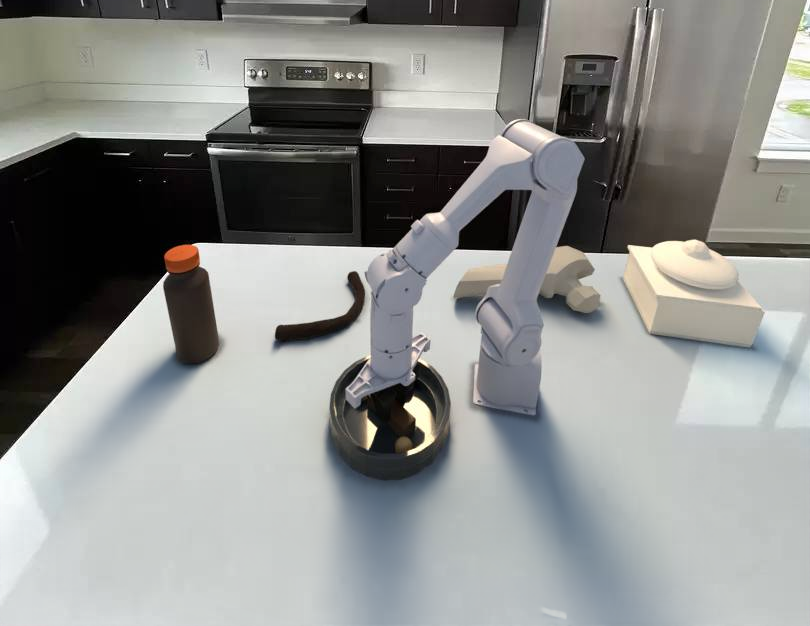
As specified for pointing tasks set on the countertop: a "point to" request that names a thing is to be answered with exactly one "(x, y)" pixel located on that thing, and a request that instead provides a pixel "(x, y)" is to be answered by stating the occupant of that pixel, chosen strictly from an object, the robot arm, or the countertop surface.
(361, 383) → the robot arm
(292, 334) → the branch
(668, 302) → the butter dish
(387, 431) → the bowl
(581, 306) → the faceted mallet
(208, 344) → the bottle
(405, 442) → the bead
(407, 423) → the block
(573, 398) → the countertop surface
